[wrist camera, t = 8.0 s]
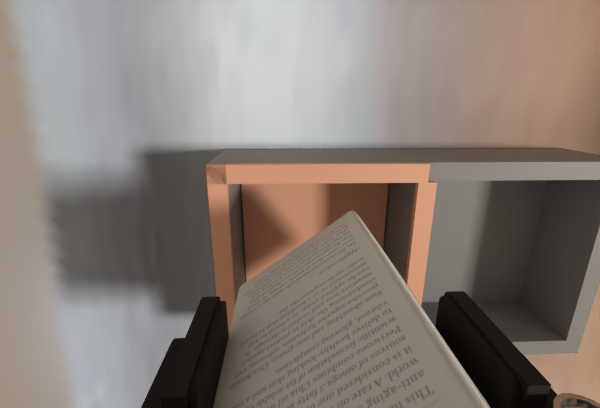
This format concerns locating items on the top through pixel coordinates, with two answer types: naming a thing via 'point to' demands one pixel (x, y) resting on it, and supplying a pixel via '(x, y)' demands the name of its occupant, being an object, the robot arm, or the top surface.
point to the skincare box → (337, 334)
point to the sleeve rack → (428, 225)
